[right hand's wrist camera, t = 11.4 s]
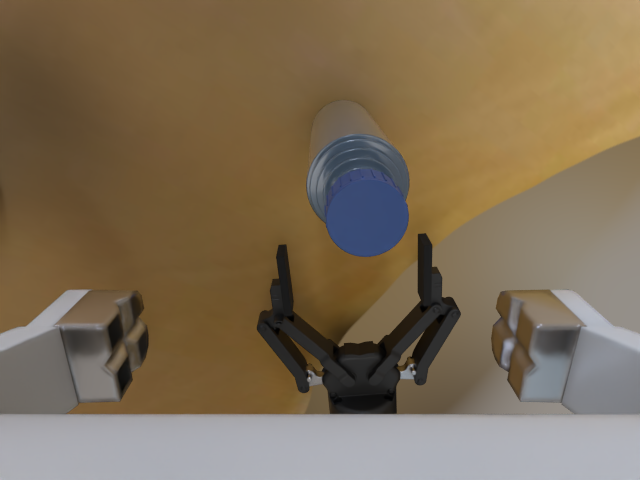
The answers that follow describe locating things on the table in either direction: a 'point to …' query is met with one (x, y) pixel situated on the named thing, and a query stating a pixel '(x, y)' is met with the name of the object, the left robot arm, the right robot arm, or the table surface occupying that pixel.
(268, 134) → the table surface
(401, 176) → the bottle
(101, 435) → the right robot arm
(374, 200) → the cap
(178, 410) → the table surface
